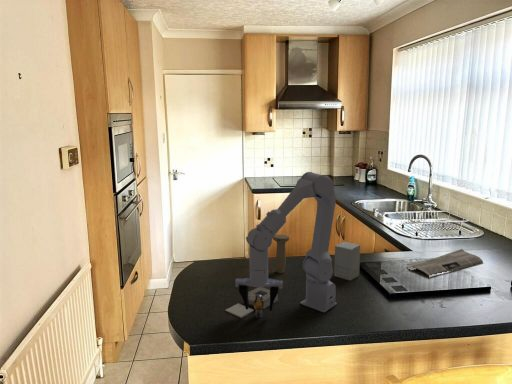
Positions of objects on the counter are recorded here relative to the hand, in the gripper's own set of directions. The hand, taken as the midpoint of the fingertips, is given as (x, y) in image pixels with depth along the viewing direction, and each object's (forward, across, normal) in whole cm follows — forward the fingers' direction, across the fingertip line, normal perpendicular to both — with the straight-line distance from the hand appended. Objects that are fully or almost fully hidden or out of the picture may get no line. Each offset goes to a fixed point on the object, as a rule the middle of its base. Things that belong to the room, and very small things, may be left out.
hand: (259, 308), depth 122 cm
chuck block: (+3, 0, -10) cm, 10 cm away
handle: (+3, -5, -37) cm, 37 cm away
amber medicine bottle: (+3, 0, 0) cm, 3 cm away
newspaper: (+3, -73, -52) cm, 90 cm away
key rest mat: (+3, +7, -3) cm, 8 cm away
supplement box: (+3, -31, -36) cm, 47 cm away
